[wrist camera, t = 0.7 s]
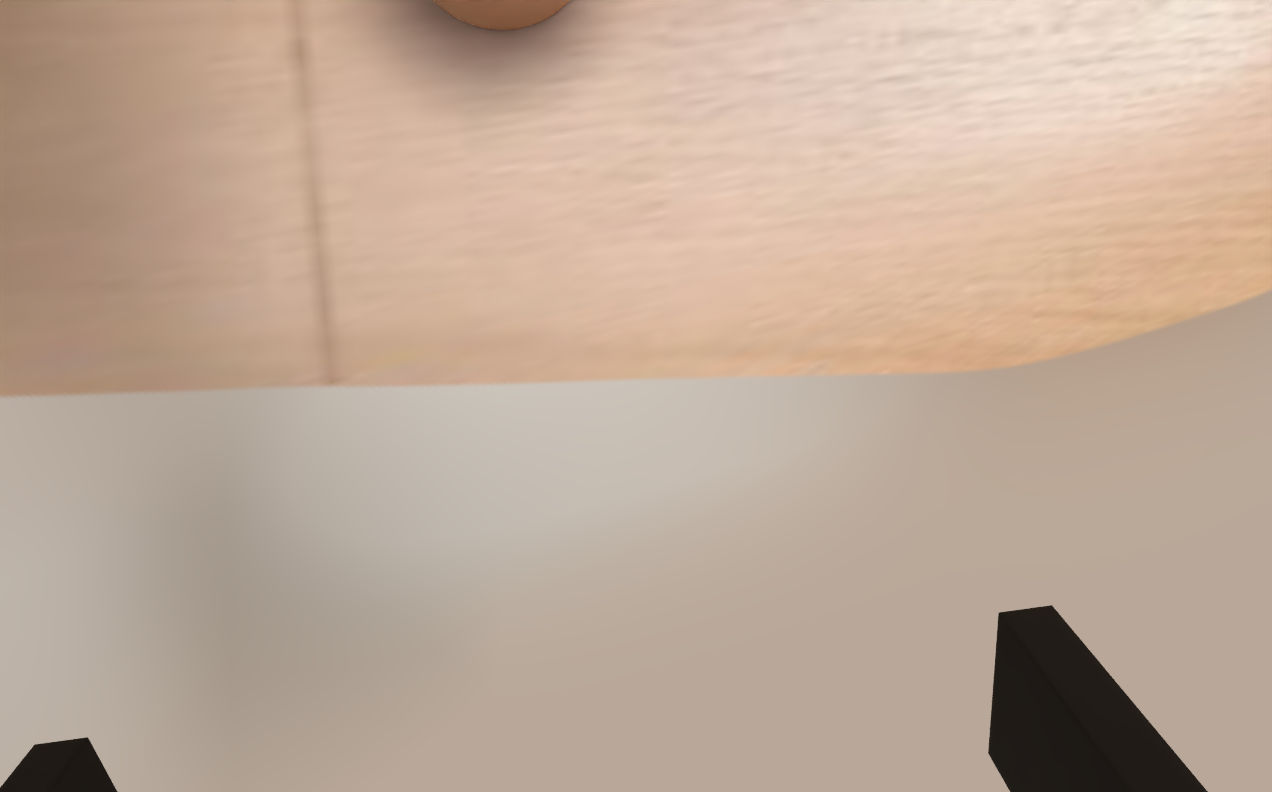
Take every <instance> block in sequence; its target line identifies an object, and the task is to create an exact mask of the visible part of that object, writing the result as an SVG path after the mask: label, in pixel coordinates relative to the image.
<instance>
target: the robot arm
mask: <svg viewBox="0 0 1272 792" xmlns="http://www.w3.org/2000/svg"><path fill="white" fill-rule="evenodd" d="M988 753H989V755H990V757H991V759H992V760H993V762H994V764H995V766H996V767H997V769H998V771H999V773H1000V774H1001V776H1002V778H1003V780H1004V781H1005V783H1006V785H1007V787H1008V789H1009V790H1010V792H1207V791H1206V789H1205V788H1204V787H1203V786H1202V785H1201V783H1200V782H1199V781H1198V780H1197V779H1196V777H1195V776H1194V775H1193V774H1192V773H1191V771H1190V770H1189V769H1188V768H1187V767H1186V765H1185V764H1184V763H1183V762H1182V761H1181V759H1180V758H1179V757H1178V756H1177V755H1176V753H1175V752H1174V751H1173V750H1172V749H1171V747H1170V746H1169V745H1168V744H1167V743H1166V742H1165V740H1164V739H1163V738H1162V737H1161V735H1160V734H1159V733H1158V732H1157V731H1156V729H1155V728H1154V727H1153V726H1152V725H1151V724H1150V723H1149V722H1148V720H1147V719H1146V718H1145V716H1144V715H1143V714H1142V713H1141V712H1140V710H1139V709H1138V708H1137V707H1136V706H1135V704H1134V703H1133V702H1132V701H1131V700H1130V698H1129V697H1128V696H1127V695H1126V694H1125V692H1124V691H1123V690H1122V689H1121V688H1120V686H1119V685H1118V684H1117V683H1116V682H1115V680H1114V679H1113V678H1112V677H1111V676H1110V675H1109V673H1108V672H1107V671H1106V670H1105V668H1104V667H1103V666H1102V665H1101V664H1100V662H1099V661H1098V660H1097V659H1096V658H1095V656H1094V655H1093V654H1092V653H1091V652H1090V651H1089V649H1088V648H1087V647H1086V646H1085V645H1084V643H1083V642H1082V641H1081V640H1080V639H1079V637H1078V636H1077V635H1076V634H1075V633H1074V631H1073V630H1072V629H1071V628H1070V627H1069V625H1068V624H1067V623H1066V622H1065V621H1064V619H1063V618H1062V617H1061V616H1060V615H1059V613H1058V612H1057V611H1056V610H1055V609H1054V607H1053V606H1044V607H1037V608H1030V609H1023V610H1015V611H1008V612H1000V613H999V616H998V630H997V643H996V657H995V671H994V684H993V697H992V711H991V726H990V738H989V752H988ZM0 792H117V791H116V789H115V787H114V785H113V783H112V781H111V779H110V778H109V776H108V774H107V772H106V770H105V768H104V767H103V765H102V763H101V761H100V759H99V757H98V755H97V754H96V752H95V750H94V748H93V746H92V744H91V742H90V741H89V739H88V738H80V739H73V740H66V741H58V742H51V743H44V744H37V745H34V746H33V747H32V749H31V750H30V751H29V752H28V754H27V755H26V756H25V757H24V759H23V760H22V761H21V762H20V764H19V765H18V766H17V767H16V769H15V770H14V771H13V773H12V774H11V775H10V776H9V777H8V779H7V780H6V781H5V783H4V784H3V785H2V786H1V787H0Z"/></svg>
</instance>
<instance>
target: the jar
mask: <svg viewBox="0 0 1272 792" xmlns="http://www.w3.org/2000/svg"><path fill="white" fill-rule="evenodd" d="M433 1H434V2H435V3H436V4H437V5H438V6H439V7H440V8H442V9H443V10H445V11H446V12H448V13H449V14H450V15H452V16H454V17H456V18H458V19H460V20H461V21H463V22H466V23H469V24H471V25H474V26H477V27H482V28H487V29H494V30H511V29H519V28H523V27H528V26H531V25H533V24H536V23H539V22H541V21H543V20H545V19H546V18H548V17H550V16H552V15H553V14H554V13H556V12H557V11H558V10H560V9H561V8H562V7H563V6H564V5H565V4H566V3H567V2H568V1H569V0H433Z"/></svg>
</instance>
